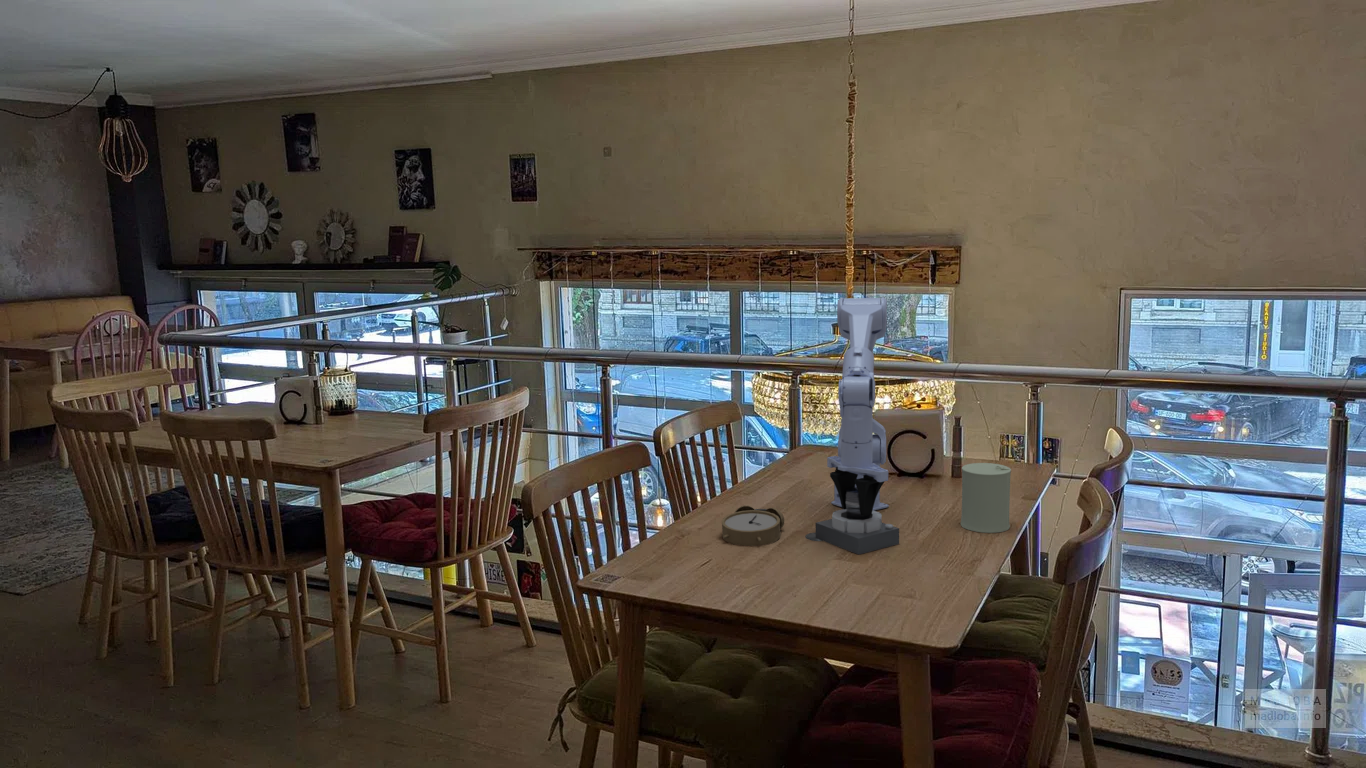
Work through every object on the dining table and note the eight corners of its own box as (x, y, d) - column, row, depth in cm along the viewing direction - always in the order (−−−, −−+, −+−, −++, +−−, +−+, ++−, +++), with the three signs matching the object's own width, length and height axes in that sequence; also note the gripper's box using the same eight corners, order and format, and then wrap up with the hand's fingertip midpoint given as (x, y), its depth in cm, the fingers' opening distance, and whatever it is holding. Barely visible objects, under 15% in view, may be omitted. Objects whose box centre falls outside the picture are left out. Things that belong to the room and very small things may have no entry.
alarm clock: (712, 529, 183) (737, 495, 196) (714, 552, 184) (739, 517, 198) (769, 535, 179) (791, 499, 192) (771, 558, 180) (793, 522, 193)
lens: (841, 521, 182) (839, 489, 182) (859, 516, 185) (858, 485, 184) (857, 526, 179) (856, 494, 178) (876, 521, 181) (875, 489, 180)
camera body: (815, 537, 185) (815, 512, 184) (855, 528, 190) (855, 503, 189) (858, 554, 175) (858, 527, 174) (899, 543, 180) (899, 517, 179)
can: (1012, 534, 184) (1014, 472, 182) (962, 532, 186) (963, 471, 184) (1006, 519, 193) (1008, 460, 191) (958, 518, 195) (959, 459, 193)
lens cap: (799, 539, 186) (799, 535, 186) (821, 534, 189) (821, 530, 189) (816, 546, 182) (816, 542, 182) (838, 541, 185) (838, 537, 184)
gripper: (814, 436, 183) (815, 506, 185) (867, 450, 171) (867, 524, 173) (843, 431, 187) (843, 500, 189) (897, 444, 175) (896, 517, 177)
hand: (856, 511), depth 181 cm, fingers closed on lens, 5 cm apart
